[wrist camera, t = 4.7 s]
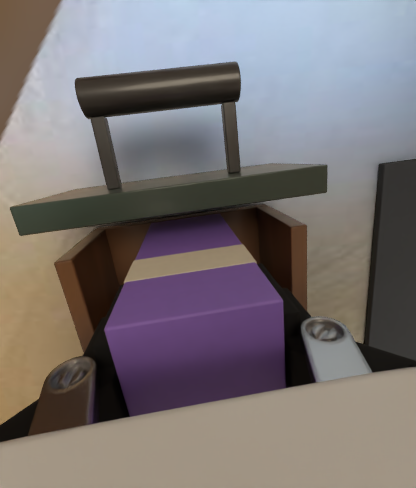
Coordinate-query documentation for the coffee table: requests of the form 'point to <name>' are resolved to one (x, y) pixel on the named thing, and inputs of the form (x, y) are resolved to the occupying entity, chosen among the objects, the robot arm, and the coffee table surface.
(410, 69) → the coffee table surface
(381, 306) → the mat
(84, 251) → the drawer
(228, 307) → the snack box
